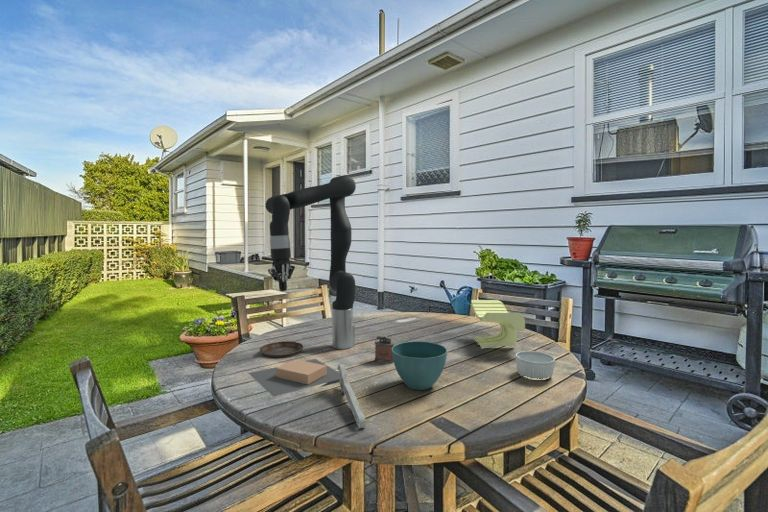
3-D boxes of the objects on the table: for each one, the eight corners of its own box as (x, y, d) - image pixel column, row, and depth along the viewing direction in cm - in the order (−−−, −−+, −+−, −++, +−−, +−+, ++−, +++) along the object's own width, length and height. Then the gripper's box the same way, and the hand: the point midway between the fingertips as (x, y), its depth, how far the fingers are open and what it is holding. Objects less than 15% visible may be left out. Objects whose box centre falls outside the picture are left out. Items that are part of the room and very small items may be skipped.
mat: (315, 361, 151) (315, 358, 151) (347, 380, 132) (347, 377, 132) (248, 375, 136) (248, 373, 136) (273, 399, 117) (273, 396, 117)
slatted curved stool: (524, 355, 159) (525, 312, 158) (485, 355, 160) (486, 312, 158) (503, 335, 189) (504, 300, 188) (470, 335, 190) (471, 299, 188)
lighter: (395, 361, 152) (395, 336, 151) (391, 364, 149) (392, 338, 148) (377, 358, 155) (377, 334, 154) (373, 361, 152) (373, 336, 151)
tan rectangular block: (276, 367, 132) (308, 375, 125) (295, 359, 140) (326, 365, 134) (276, 377, 132) (308, 385, 125) (295, 368, 141) (326, 375, 134)
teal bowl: (432, 401, 116) (432, 361, 115) (381, 388, 125) (381, 351, 124) (454, 381, 131) (455, 346, 130) (407, 371, 140) (408, 338, 140)
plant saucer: (292, 362, 150) (292, 355, 150) (251, 359, 154) (251, 352, 154) (309, 349, 168) (309, 342, 168) (272, 347, 171) (272, 340, 171)
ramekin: (555, 384, 128) (556, 364, 128) (514, 379, 133) (514, 359, 133) (553, 371, 141) (553, 353, 140) (515, 367, 145) (515, 349, 145)
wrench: (359, 440, 99) (337, 384, 128) (365, 439, 100) (342, 383, 128) (359, 412, 98) (337, 361, 126) (366, 411, 99) (343, 360, 127)
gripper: (275, 248, 143) (278, 294, 144) (299, 245, 154) (301, 288, 156) (260, 248, 146) (263, 293, 148) (285, 246, 158) (287, 287, 159)
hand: (283, 290), depth 152 cm, fingers closed
